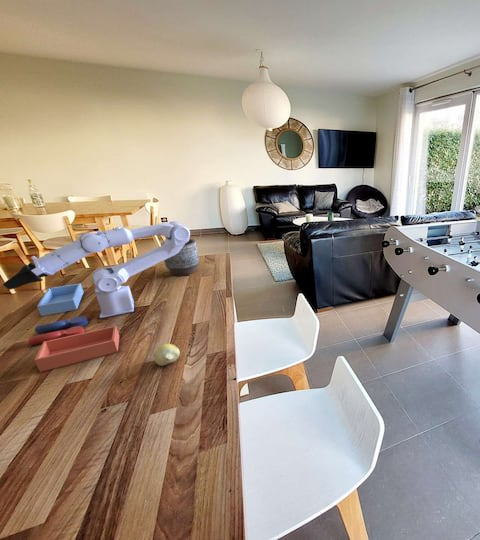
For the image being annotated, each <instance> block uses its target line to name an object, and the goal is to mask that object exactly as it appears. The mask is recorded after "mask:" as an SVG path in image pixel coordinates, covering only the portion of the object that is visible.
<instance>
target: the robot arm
mask: <svg viewBox="0 0 480 540" xmlns="http://www.w3.org/2000/svg"><path fill="white" fill-rule="evenodd" d="M155 236H161V237H165V240H164V241H165V243H164V245H162V246H161V245H159V246H158V247H156V248H153V249H151V250H149V251H147V252H144V253H142V254H141V255H138V256H136V257H134V258H131V259H129V260H127V261H125V262H123V263H121V264H116V265H111V266H108V267H102V268H98V269H95V270H94V271H93V272H92V274H91V280H92V282H93V283H94V286H95V288H94V293H95V296H96V299H97V302H98V305H99V308H100V313H99V319H103V318H109V317H113V316H118V315H124V314H128V313H129V314H130V313H133V312H134V310H135V301H134V298H133V295H132V291H131V288H130V286H129V285H123V284H125V283H126V282H127V281H128V280H129V278H131V277H132V276H134V275H136V274H138V273H141V272H143V271H145V270H147V269H149V268H151V267H153V266H155V265H157V264H159V263H162V262H164V260H165V259H168V258H170V257H172V256H174V255H176V254H177V253H179V251H180V250H181V249H182V247H183V246H184V245H185V243H187V242H188V241H189V239H191V238H190V237H191V231H190V229H189V228H188V227H187V226H185V225H183V224H181V223H180V222H179V221H174V220H173V221H169V222H168V221H164V222H160V223H155V224H151V225H146V226H142V227H138V228H134V229H128V228H126V227H120V226H115V227H114V228H113V229H107V230H96V232H83V233H82V234H80V235H79V238H77V239H74V240H73V241H70V242H68V243H66V244H64V245H62V246H60V247H58V248H55V249H54V250H52V251H50V252H48V253H46V254H44V255H42V256H40V257H37V256H35V255H32V256H30V259H32V260H33V261H30V262H29V263H28V264H25V265H23V266H22V267H21V269H20V270H19V271H18V272H17V273H15V274H14V275H13V276H12V277H10V278H9V279H7V280H6V281H5V282H3V283H2V286H4V287H5V288H6V289H7V290H8V291H11V290H14V289H16V288H20V287H22V286H25V285H28V284H32V283H33V284H34V283H36V282H37V283H38V282H42V281H43V280H44V279H43V278H46V277H48V276H54V275H55V274H56V273H58V272H60V271H61V270H63V269H65V268H67V267H70V266H71V265H73V264H75V263H76V262H78V261H80V260H82V259H84V258H86V257H87V256H89V255H91V254H93V253H101V252H103V251H104V250H106V249H110V248H115V247H119V246H123V245H128V244H131V242H133V240H136V239H143V238H148V237H155Z"/></svg>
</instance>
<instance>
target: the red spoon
mask: <svg viewBox="0 0 480 540" xmlns="http://www.w3.org/2000/svg"><path fill="white" fill-rule="evenodd" d="M85 332H86V331H85V328H84V326H75V327H68V328H67V329H59V330H55V331H50V332H45V333H41V334H38V335H33V336H30V337H29V338H28V340H27V343H28V344H29V345H31V346H35V345H40V344H43V342H45V341H49V340H54V339H58V338H63V337H67V336H72V335H76V334H81V333H85Z"/></svg>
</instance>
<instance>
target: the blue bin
mask: <svg viewBox="0 0 480 540" xmlns="http://www.w3.org/2000/svg"><path fill="white" fill-rule="evenodd" d="M82 286H83V285H82V284H81V283H74V284H68V285H67V284H66V285H61V286H54V287H49V288H48V289H47V290H46V292H45V293H44V295H42V298H41V299H40V301H39V302H38V304H37V305H36V308H37V310H38V312H39V314H40V316H41V317H44V316H49V315H55V314H60V313H65V312H71V311H76V310H78V308H79V305H80V304H81V300H82V297H83V295H84V289H83V287H82ZM50 288H51V289H50ZM48 290H49V291H48ZM47 291H48V292H47Z"/></svg>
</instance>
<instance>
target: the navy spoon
mask: <svg viewBox="0 0 480 540" xmlns="http://www.w3.org/2000/svg"><path fill="white" fill-rule="evenodd" d="M88 324H89V321H88V317H87V316H85V315H80V316H76V317H73V318H70V319H63V320H58V321H53V322H48V323H43V324H39V325H36V326H35V328H34V332H35V333H37V334H45V333H50V332H54V331H59V330H64V329H66V328H67V329H69V328H71V327H75V326H82V327H84V326H87V325H88Z"/></svg>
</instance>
